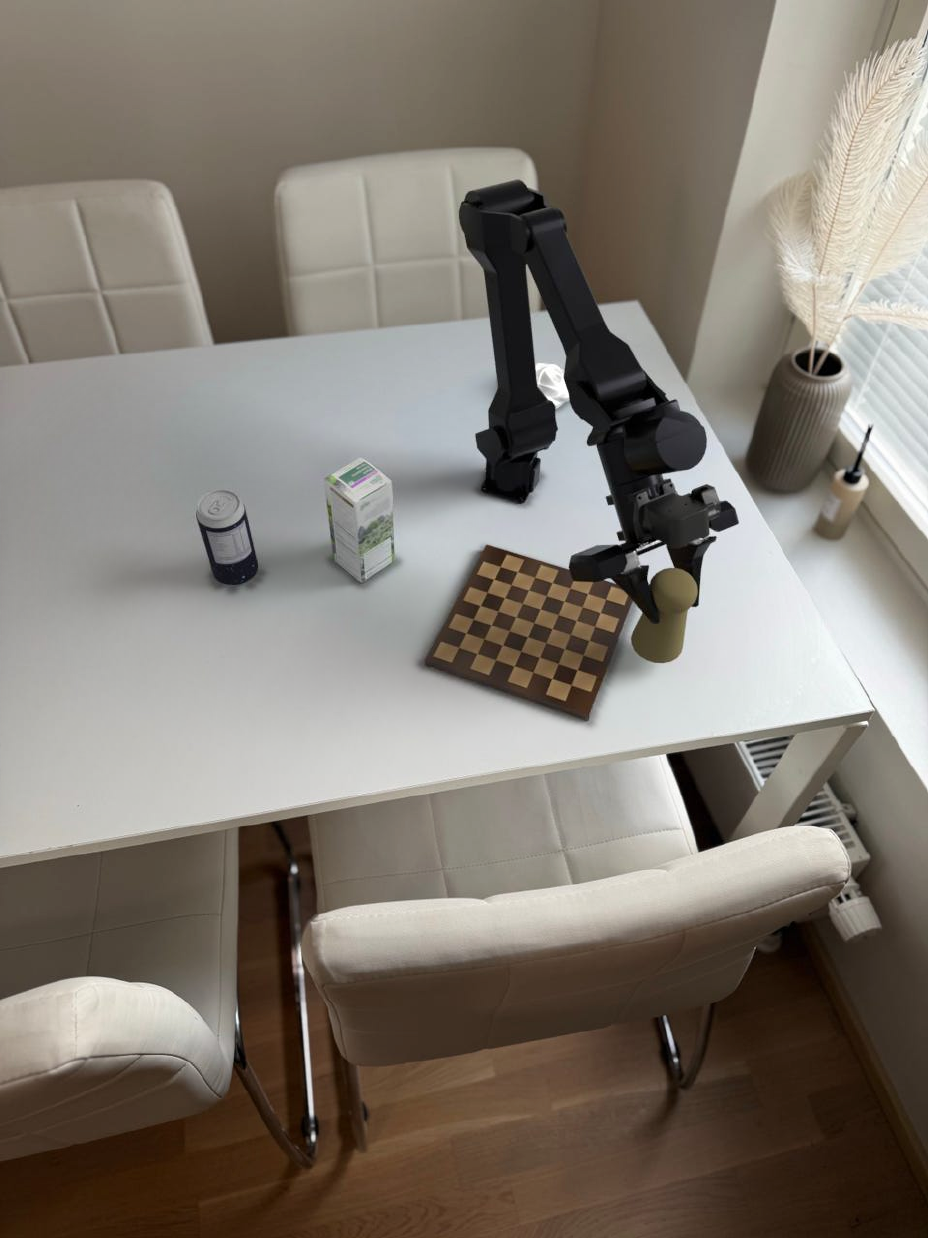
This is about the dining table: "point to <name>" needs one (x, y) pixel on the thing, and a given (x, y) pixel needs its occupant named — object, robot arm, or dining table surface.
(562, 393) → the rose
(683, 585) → the chess pawn
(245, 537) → the beverage can
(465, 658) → the chessboard
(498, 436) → the robot arm
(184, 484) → the dining table surface
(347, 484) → the syrup box
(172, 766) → the dining table surface
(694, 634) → the dining table surface
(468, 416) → the dining table surface
